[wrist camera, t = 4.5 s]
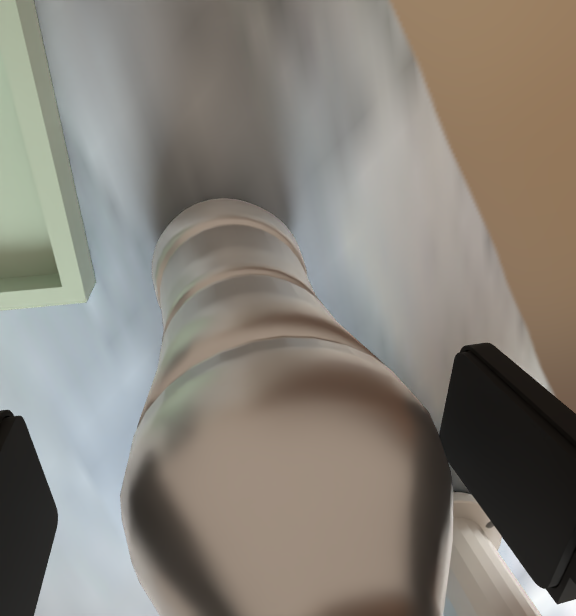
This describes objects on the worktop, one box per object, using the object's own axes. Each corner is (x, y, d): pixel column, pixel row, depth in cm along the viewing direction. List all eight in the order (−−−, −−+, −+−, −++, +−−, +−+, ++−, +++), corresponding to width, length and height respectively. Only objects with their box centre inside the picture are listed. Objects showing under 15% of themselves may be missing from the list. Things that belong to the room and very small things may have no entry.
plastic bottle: (199, 158, 20) (348, 740, 2) (316, 236, 22) (813, 769, 5) (129, 275, 21) (-130, 1171, 4) (247, 334, 24) (427, 1005, 6)
